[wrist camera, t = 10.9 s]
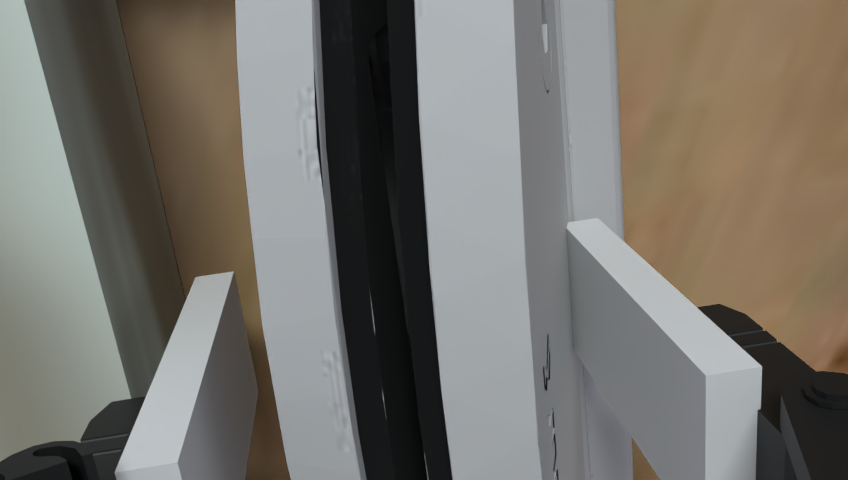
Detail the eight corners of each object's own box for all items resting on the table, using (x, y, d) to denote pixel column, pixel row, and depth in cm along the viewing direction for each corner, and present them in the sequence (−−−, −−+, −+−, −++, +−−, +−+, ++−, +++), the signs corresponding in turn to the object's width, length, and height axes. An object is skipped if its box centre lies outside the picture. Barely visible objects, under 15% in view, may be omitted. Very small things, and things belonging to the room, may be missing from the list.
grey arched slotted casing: (634, 507, 22) (645, 918, 13) (465, 499, 23) (365, 870, 14) (608, -165, 16) (595, -280, 7) (386, -131, 17) (135, -191, 8)
